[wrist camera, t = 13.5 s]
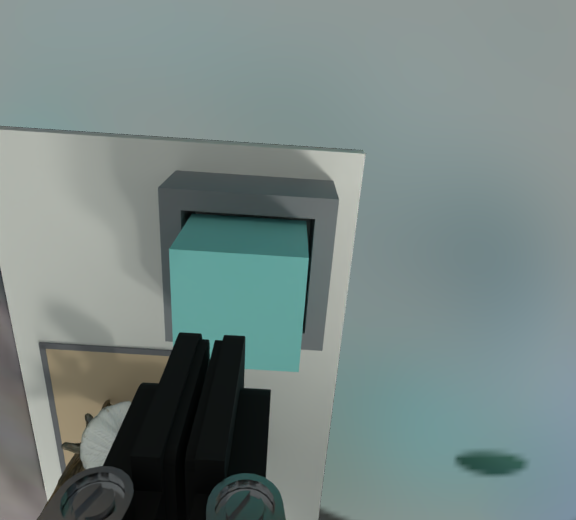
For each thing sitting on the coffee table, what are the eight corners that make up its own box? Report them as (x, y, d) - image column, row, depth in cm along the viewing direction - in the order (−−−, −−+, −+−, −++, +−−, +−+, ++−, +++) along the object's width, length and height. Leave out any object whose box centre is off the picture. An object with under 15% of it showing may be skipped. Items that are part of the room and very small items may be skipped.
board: (363, 150, 20) (376, 168, 17) (317, 511, 29) (320, 570, 25) (-16, 124, 20) (-79, 139, 16) (55, 496, 28) (23, 554, 25)
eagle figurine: (74, 492, 25) (226, 561, 25) (-3, 546, 18) (206, 643, 18) (137, 359, 27) (281, 422, 26) (88, 363, 20) (284, 449, 19)
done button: (306, 220, 18) (308, 258, 15) (298, 319, 20) (298, 371, 16) (192, 213, 18) (169, 249, 15) (193, 312, 20) (173, 364, 16)
